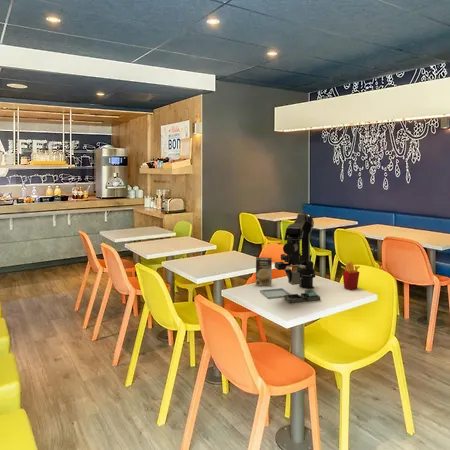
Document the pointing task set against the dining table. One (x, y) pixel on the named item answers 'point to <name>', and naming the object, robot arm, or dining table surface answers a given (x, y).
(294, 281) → the block
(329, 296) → the dining table surface
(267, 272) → the coffee box
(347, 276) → the french fries
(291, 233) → the robot arm
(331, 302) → the dining table surface
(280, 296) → the tray
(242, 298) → the dining table surface
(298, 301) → the double socket holder
